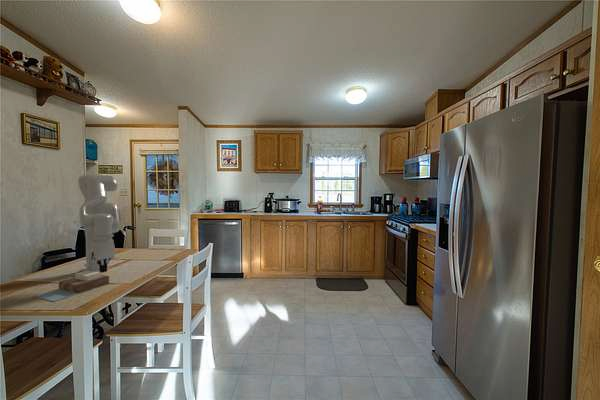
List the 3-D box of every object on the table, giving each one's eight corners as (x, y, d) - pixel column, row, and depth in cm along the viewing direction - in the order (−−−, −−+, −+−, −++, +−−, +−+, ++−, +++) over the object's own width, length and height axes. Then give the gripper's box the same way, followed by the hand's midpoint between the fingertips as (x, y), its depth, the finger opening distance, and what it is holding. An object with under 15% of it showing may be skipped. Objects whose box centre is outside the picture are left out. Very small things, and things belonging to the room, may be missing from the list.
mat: (33, 296, 112) (33, 296, 112) (58, 289, 121) (58, 288, 121) (53, 301, 107) (53, 301, 107) (78, 294, 116) (78, 293, 116)
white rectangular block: (75, 278, 125) (75, 273, 125) (88, 274, 130) (88, 270, 130) (87, 280, 122) (87, 276, 122) (100, 277, 127) (100, 272, 127)
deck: (58, 289, 120) (58, 281, 120) (91, 280, 134) (90, 272, 134) (77, 293, 116) (77, 285, 116) (109, 283, 129) (108, 276, 129)
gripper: (112, 235, 141) (112, 267, 141) (82, 239, 127) (82, 275, 127) (122, 236, 138) (122, 268, 139) (92, 240, 124) (92, 277, 125)
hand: (103, 271), depth 133 cm, fingers closed
